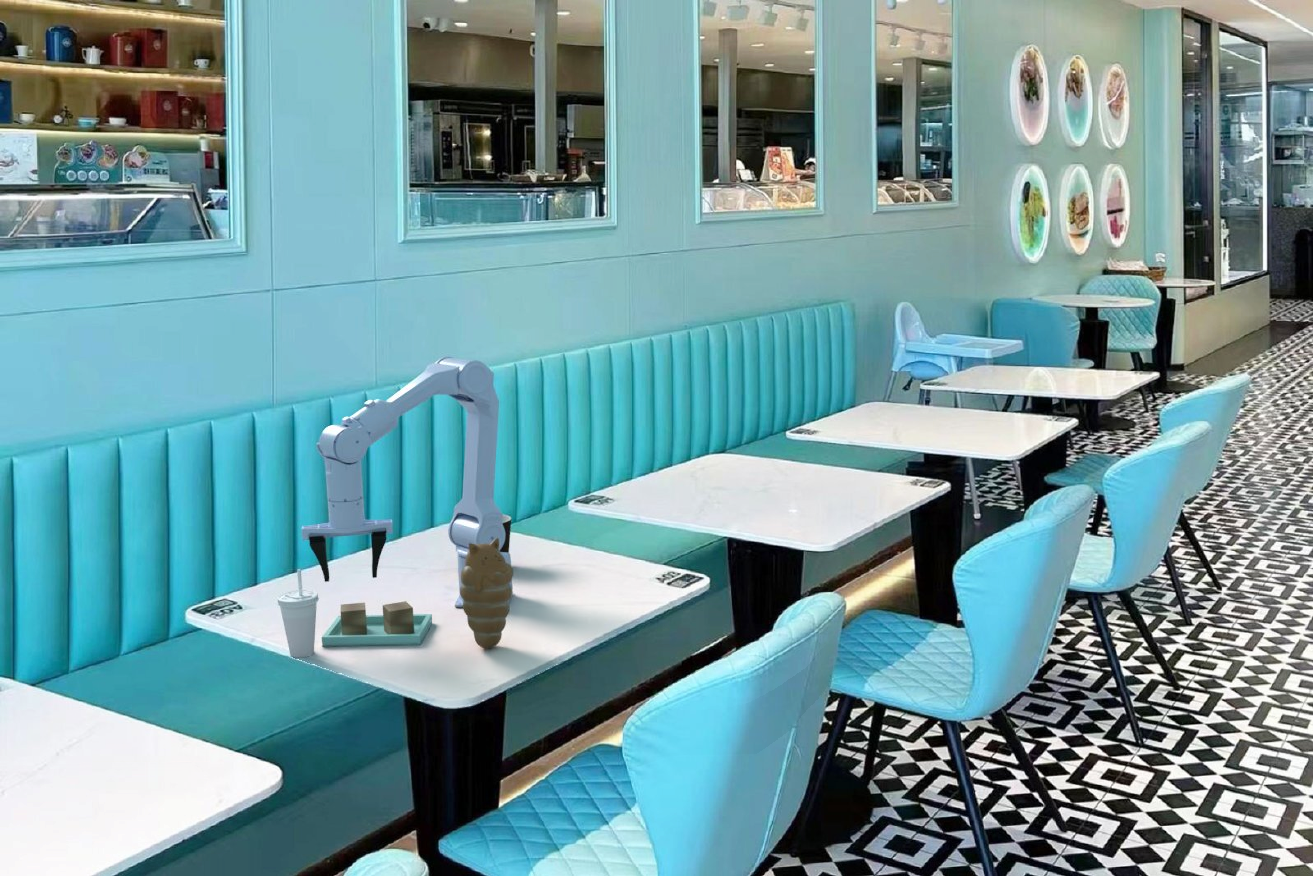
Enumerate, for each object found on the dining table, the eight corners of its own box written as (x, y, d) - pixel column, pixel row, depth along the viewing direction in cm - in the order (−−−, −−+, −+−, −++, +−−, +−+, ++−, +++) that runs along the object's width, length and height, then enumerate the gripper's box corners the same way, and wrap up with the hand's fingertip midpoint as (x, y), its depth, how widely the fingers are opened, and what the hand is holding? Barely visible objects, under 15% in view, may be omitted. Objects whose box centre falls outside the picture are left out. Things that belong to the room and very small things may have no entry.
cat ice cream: (476, 660, 207) (470, 550, 203) (452, 647, 213) (447, 539, 209) (524, 648, 212) (520, 540, 208) (500, 635, 218) (495, 530, 215)
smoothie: (311, 661, 208) (305, 576, 205) (274, 659, 209) (267, 574, 207) (329, 647, 214) (323, 564, 212) (292, 645, 215) (286, 563, 213)
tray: (432, 623, 225) (431, 614, 225) (420, 645, 214) (419, 635, 214) (339, 624, 225) (338, 615, 225) (322, 646, 215) (321, 637, 214)
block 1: (366, 628, 222) (365, 602, 222) (367, 635, 219) (365, 609, 218) (342, 630, 222) (340, 604, 221) (342, 637, 218) (340, 611, 217)
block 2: (407, 626, 223) (405, 601, 222) (414, 633, 219) (412, 607, 218) (384, 630, 221) (382, 605, 220) (390, 637, 217) (389, 611, 217)
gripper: (389, 489, 221) (394, 567, 224) (300, 496, 218) (306, 575, 220) (391, 499, 214) (395, 579, 217) (299, 505, 211) (305, 587, 214)
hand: (350, 578), depth 218 cm, fingers open, 7 cm apart
